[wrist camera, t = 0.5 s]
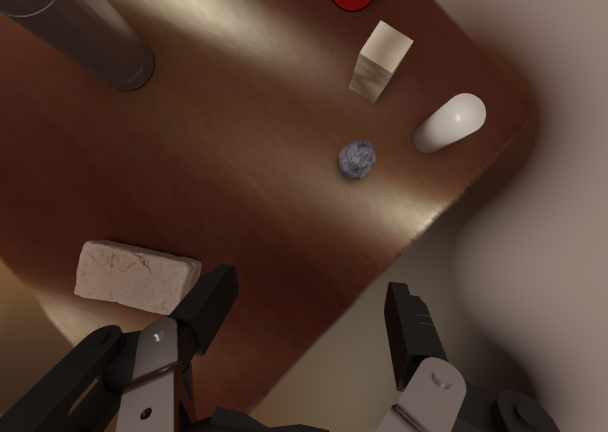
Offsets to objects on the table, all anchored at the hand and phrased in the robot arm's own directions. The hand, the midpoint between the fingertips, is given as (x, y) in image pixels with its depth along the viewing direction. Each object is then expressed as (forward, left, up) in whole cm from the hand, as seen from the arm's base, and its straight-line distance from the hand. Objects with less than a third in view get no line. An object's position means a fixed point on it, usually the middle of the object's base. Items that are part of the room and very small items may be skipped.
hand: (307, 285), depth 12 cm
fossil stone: (-5, +13, -26) cm, 29 cm away
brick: (-11, -24, -26) cm, 38 cm away
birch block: (-14, +24, -26) cm, 38 cm away
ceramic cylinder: (-1, +26, -26) cm, 36 cm away
